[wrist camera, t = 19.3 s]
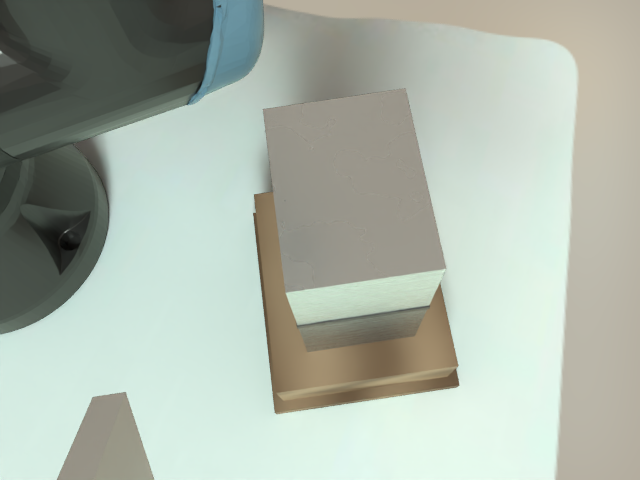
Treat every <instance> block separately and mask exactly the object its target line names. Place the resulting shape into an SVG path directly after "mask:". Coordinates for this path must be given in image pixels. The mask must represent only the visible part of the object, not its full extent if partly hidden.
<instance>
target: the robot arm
mask: <svg viewBox="0 0 640 480" xmlns="http://www.w3.org/2000/svg"><path fill="white" fill-rule="evenodd" d="M263 34H264V10H263V0H0V334H4V333H8V332H12V331H15V330H18V329H21V328H24V327H26V326H28V325H31V324H33V323H35V322H37V321H39V320H41V319H42V318H44V317H46V316H47V315H49V314H51V313H52V312H53V311H55V310H56V309H58V308H59V307H60V306H61V305H62V304H64V303H65V302H66V301H67V300H68V299H69V298H70V297H71V296H72V295H73V294H74V293H75V292H76V291H77V290H78V289H79V288H80V286H81V285H82V284H83V283H84V281H85V280H86V279H87V277H88V276H89V274H90V273H91V271H92V270H93V268H94V266H95V264H96V262H97V260H98V258H99V256H100V254H101V251H102V248H103V245H104V242H105V239H106V234H107V228H108V202H107V197H106V193H105V189H104V186H103V184H102V181H101V179H100V177H99V175H98V174H97V172H96V171H95V169H94V168H93V166H92V165H91V164H90V163H89V162H88V160H87V159H86V158H85V157H84V156H83V155H82V153H81V152H80V151H79V150H78V149H77V148H76V147H75V146H74V145H73V143H76V142H79V141H82V140H85V139H88V138H91V137H94V136H96V135H99V134H102V133H105V132H108V131H111V130H114V129H117V128H120V127H123V126H126V125H129V124H131V123H134V122H137V121H140V120H143V119H146V118H149V117H152V116H155V115H158V114H161V113H164V112H166V111H169V110H172V109H175V108H178V107H181V106H185V105H191V104H194V103H196V102H198V101H199V100H200V99H201V98H203V96H204V95H206V94H209V93H211V92H213V91H216V90H218V89H220V88H222V87H225V86H227V85H229V84H232V83H234V82H236V81H238V80H240V79H242V78H243V77H245V76H246V75H247V74H248V73H249V72H250V71H251V70H252V69H253V67H254V66H255V64H256V62H257V60H258V58H259V55H260V52H261V48H262V43H263ZM57 480H154V477H153V474H152V471H151V468H150V465H149V462H148V459H147V456H146V453H145V450H144V447H143V444H142V441H141V438H140V435H139V432H138V428H137V425H136V422H135V419H134V416H133V413H132V410H131V407H130V404H129V401H128V398H127V395H126V392H123V393H117V394H110V395H103V396H97V397H93V398H92V400H91V403H90V405H89V407H88V409H87V412H86V414H85V416H84V419H83V421H82V423H81V425H80V428H79V430H78V432H77V435H76V437H75V439H74V442H73V444H72V446H71V448H70V451H69V453H68V455H67V458H66V460H65V462H64V465H63V467H62V469H61V471H60V474H59V476H58V478H57Z"/></svg>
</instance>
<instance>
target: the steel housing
mask: <svg viewBox="0 0 640 480" xmlns="http://www.w3.org/2000/svg"><path fill="white" fill-rule="evenodd" d="M263 114H264V122H265V131H266V139H267V147H268V155H269V163H270V171H271V179H272V187H273V195H274V203H275V212H276V220H277V228H278V236H279V244H280V252H281V260H282V268H283V276H284V285H285V293H286V295H287V298H288V301H289V304H290V306H291V309H292V312H293V314H294V317H295V320H296V325H297V329H299V330H300V333H301V336H302V339H303V341H304V344H305V347H306V349H307V352H312V351H319V350H326V349H333V348H339V347H346V346H353V345H360V344H366V343H373V342H380V341H386V340H393V339H400V338H407V337H413V336H415V335H416V333H417V330H418V328H419V326H420V324H421V322H422V320H423V318H424V315H425V313H426V311H427V309H429V308H430V303H431V301H432V298H433V296H434V294H435V292H436V290H437V288H438V286H439V283H440V281H441V279H442V277H443V275H444V273H445V271H446V265H445V261H444V257H443V252H442V248H441V243H440V239H439V235H438V230H437V226H436V221H435V217H434V212H433V208H432V204H431V199H430V195H429V190H428V186H427V181H426V177H425V173H424V168H423V164H422V159H421V155H420V151H419V146H418V142H417V137H416V133H415V128H414V124H413V120H412V115H411V111H410V106H409V102H408V97H407V93H406V89H405V88H404V89H397V90H391V91H384V92H377V93H370V94H363V95H357V96H350V97H343V98H336V99H329V100H323V101H316V102H309V103H302V104H295V105H289V106H282V107H275V108H268V109H263Z"/></svg>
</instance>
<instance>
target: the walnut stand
mask: <svg viewBox="0 0 640 480" xmlns="http://www.w3.org/2000/svg"><path fill="white" fill-rule="evenodd" d="M254 199H255V208H256V213H253V216H254V225H255V234H256V243H257V252H258V262H259V271H260V280H261V289H262V299H263V308H264V317H265V326H266V336H267V345H268V354H269V363H270V372H271V382H272V391H273V400H274V409H275V413H276V414H281V413H288V412H295V411H301V410H308V409H315V408H322V407H328V406H335V405H342V404H349V403H355V402H362V401H369V400H375V399H382V398H389V397H396V396H402V395H409V394H416V393H422V392H429V391H436V390H443V389H449V388H456V387H458V386H459V381H458V376H457V372H456V368H457V367H458V362H457V358H456V353H455V349H454V344H453V339H452V335H451V330H450V326H449V321H448V317H447V312H446V308H445V303H444V299H443V294H442V290H441V285H440V283H439V286H438V288H437V290H436V292H435V294H434V296H433V298H432V301H431V303H430V308H429V309H427V311H426V313H425V315H424V318H423V320H422V322H421V324H420V326H419V328H418V330H417V333H416V335H415V336H413V337H407V338H400V339H393V340H386V341H380V342H373V343H366V344H360V345H353V346H346V347H339V348H333V349H326V350H319V351H312V352H307V349H306V347H305V344H304V341H303V339H302V336H301V333H300V330H299V329H297V325H296V320H295V317H294V314H293V312H292V309H291V306H290V304H289V301H288V298H287V295H286V293H285V285H284V276H283V268H282V260H281V252H280V244H279V236H278V228H277V220H276V212H275V203H274V195H273V192H268V193H261V194H254Z"/></svg>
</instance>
